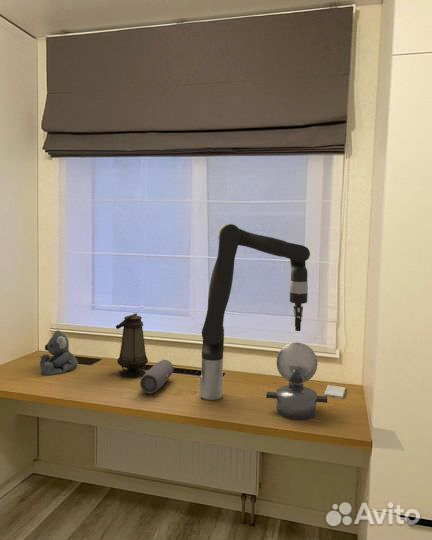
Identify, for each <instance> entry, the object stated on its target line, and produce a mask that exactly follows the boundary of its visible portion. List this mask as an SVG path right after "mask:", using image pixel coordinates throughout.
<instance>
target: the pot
mask: <svg viewBox="0 0 432 540" xmlns="http://www.w3.org/2000/svg"><path fill="white" fill-rule="evenodd" d="M265 395H266V397H265V398H266V399H273V400H275V401H276V402H275V412H276V414H278V415H279V416H280V417H283V418H285V419H289V420H293V421H294V420H295V421H307V420H311V419H314V418H315V417H316V416H317V403H325V404H327V403H328V397H327V396H324V395H318V393H317V391H315V390H314V389H312V388H310V387H307V386H304V385H303V386H296V385H289V384H288V385H283V386H279V387H278V388H277V389H276V392H273V391H266V394H265Z"/></svg>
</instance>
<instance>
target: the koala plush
mask: <svg viewBox="0 0 432 540" xmlns="http://www.w3.org/2000/svg"><path fill="white" fill-rule="evenodd" d="M69 344H70V342H69V339H68V337H67V336H66V334H64V333H62V332H61V330H59V329H56V330H54V331H53V334H52V336H51V337H50V339H49V340H48V342H47V344H45V345H44V349H45V351H47V352H48V353H49V354H50V355H52V356H50V355H49V354H45V353H43V354H42V356H41V358H40V361H39V366H40V368H41V372H40V374H41V375H42V376H51V375H52V376H54V375H59V374H60V375H61V374H64V373H66V372H70V371H72V370H75V369H77V368H78V365H79V362H78V359H77V358H76V356H75V355H74V354H73V353H71V352H70V350H69V349H70V348H69V347H70V345H69Z"/></svg>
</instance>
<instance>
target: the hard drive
mask: <svg viewBox="0 0 432 540" xmlns="http://www.w3.org/2000/svg"><path fill="white" fill-rule="evenodd" d="M346 389H347V387H345V386H338V385H332V384H331V385H330V384H327V387H326V389H325V391H324V394H323V396H327V398H335V399H341V400H343V399H344V397H345V393H346Z"/></svg>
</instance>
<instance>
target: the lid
mask: <svg viewBox="0 0 432 540" xmlns="http://www.w3.org/2000/svg"><path fill="white" fill-rule="evenodd" d="M276 369H277V371H278V373H279V375H280V376H281V377H282V378H283V379H284V380H285V381H288V385H296V386H303V387H304V383H306V382H308V381H309V380H311V379H312V378H313V377H314V375H315V374H316V373H317V369H318V358H317V356H316V354H315V351H314V350H313V349H312V348H311V347H310V346H309V345H308V344H306V343H302V342H299V341H298V342H291V343H288V344H286V345H284V346H283V347H282V348H281V349H280V350H279V352H278V354H277V357H276Z"/></svg>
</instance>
